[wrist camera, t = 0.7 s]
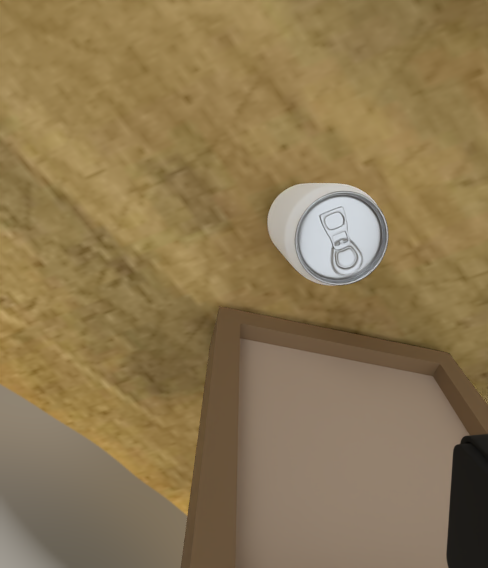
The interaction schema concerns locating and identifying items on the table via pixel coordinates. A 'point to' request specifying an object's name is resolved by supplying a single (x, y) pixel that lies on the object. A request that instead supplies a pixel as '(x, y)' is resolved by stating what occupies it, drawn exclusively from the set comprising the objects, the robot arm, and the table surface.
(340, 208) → the can
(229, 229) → the table surface
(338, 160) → the table surface
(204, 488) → the photo frame
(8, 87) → the table surface
